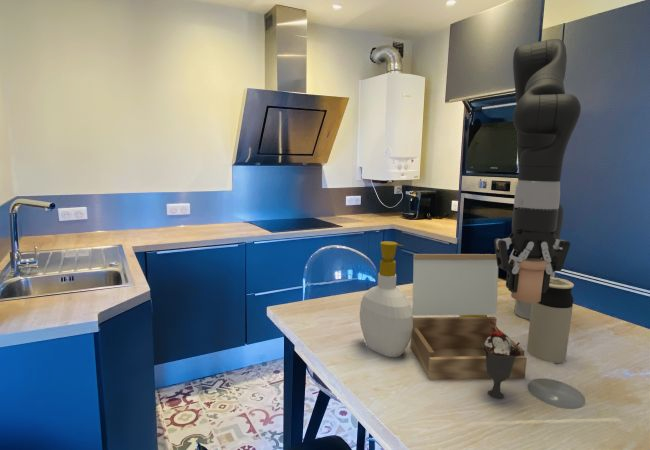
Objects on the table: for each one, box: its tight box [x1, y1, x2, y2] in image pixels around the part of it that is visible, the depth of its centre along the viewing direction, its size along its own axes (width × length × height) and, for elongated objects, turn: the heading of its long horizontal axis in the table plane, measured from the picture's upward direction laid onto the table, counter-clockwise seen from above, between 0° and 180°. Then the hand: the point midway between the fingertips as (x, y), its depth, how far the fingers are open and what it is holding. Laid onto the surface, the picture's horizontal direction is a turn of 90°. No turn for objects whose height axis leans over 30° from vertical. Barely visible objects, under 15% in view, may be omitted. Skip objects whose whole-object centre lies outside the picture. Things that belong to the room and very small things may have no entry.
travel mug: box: [526, 276, 575, 364], centre depth 91 cm, size 8×8×18 cm
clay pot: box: [510, 255, 548, 303], centre depth 77 cm, size 6×6×8 cm
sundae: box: [482, 321, 521, 400], centre depth 75 cm, size 7×7×15 cm
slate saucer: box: [527, 378, 586, 410], centre depth 77 cm, size 10×10×1 cm
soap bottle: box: [359, 240, 414, 358], centre depth 92 cm, size 14×9×26 cm, turn 41°
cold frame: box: [409, 316, 528, 381], centre depth 88 cm, size 20×14×8 cm
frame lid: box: [411, 253, 499, 317], centre depth 93 cm, size 20×14×1 cm
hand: (526, 291), depth 78 cm, fingers closed on clay pot, 5 cm apart
